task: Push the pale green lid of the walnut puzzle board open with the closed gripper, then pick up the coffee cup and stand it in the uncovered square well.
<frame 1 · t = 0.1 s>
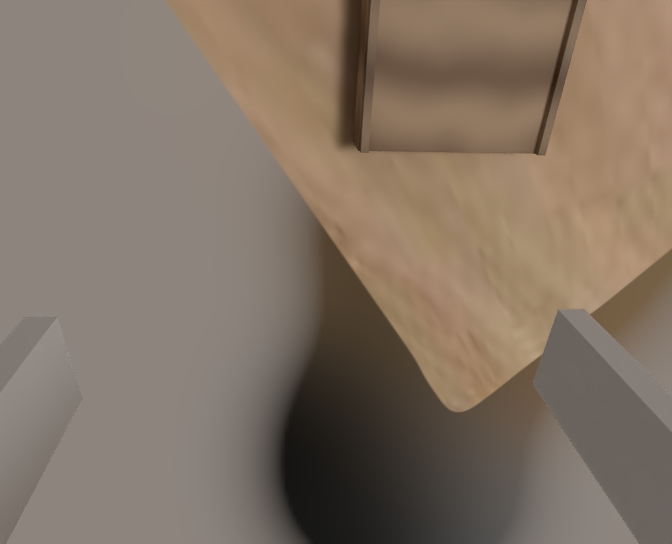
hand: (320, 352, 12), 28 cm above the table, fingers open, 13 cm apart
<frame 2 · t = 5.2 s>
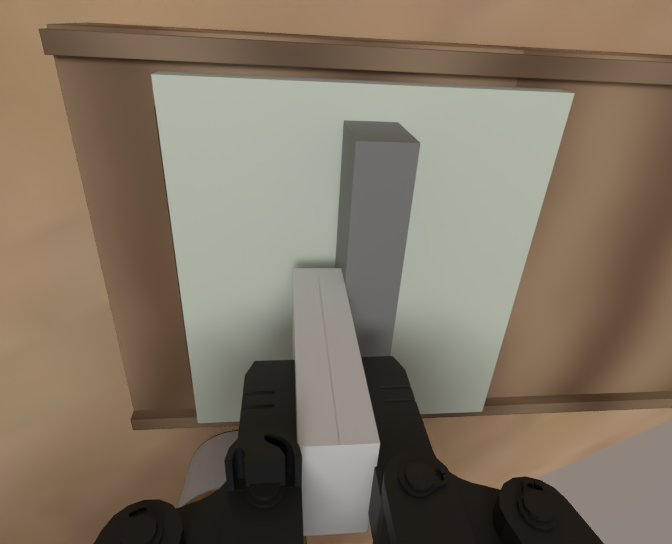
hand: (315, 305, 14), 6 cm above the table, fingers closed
coffee cup: (244, 462, 26), on the table
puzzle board: (438, 235, 20), on the table
lid: (360, 297, 15), point 5 cm above the table, slide at 0.8 cm, touching gripper
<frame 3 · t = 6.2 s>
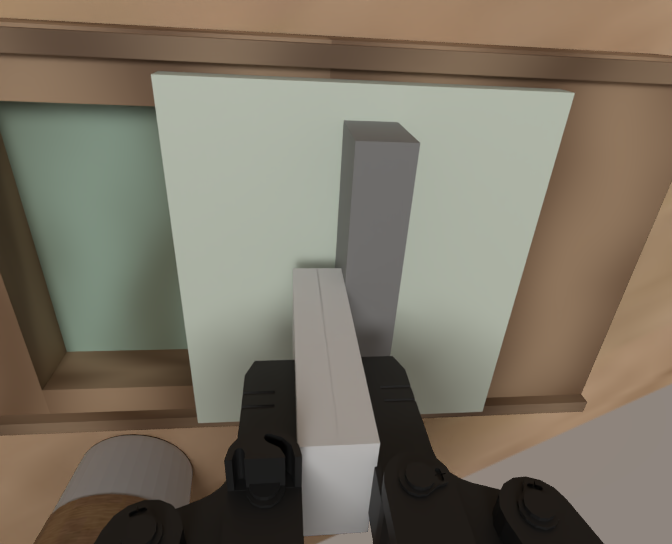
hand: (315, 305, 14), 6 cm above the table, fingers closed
coffee cup: (139, 467, 25), on the table
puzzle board: (304, 234, 19), on the table
lid: (360, 297, 15), point 5 cm above the table, slide at 6.7 cm, touching gripper
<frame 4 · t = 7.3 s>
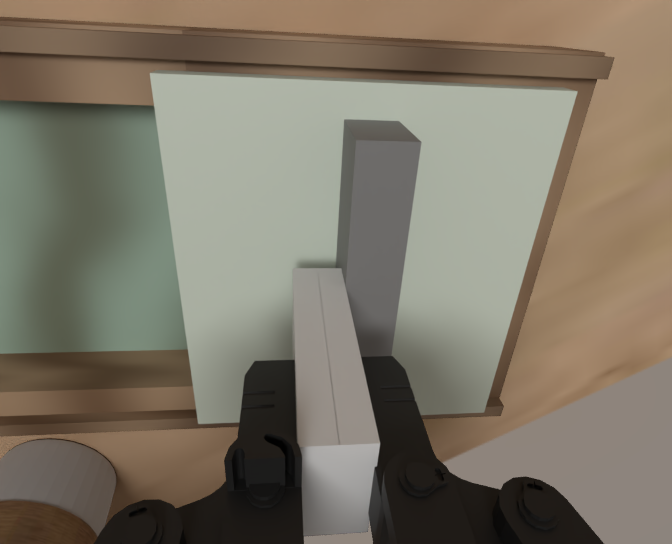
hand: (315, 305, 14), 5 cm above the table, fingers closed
coffee cup: (61, 472, 25), on the table
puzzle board: (204, 233, 19), on the table
lid: (361, 297, 15), point 5 cm above the table, slide at 10.8 cm, touching gripper
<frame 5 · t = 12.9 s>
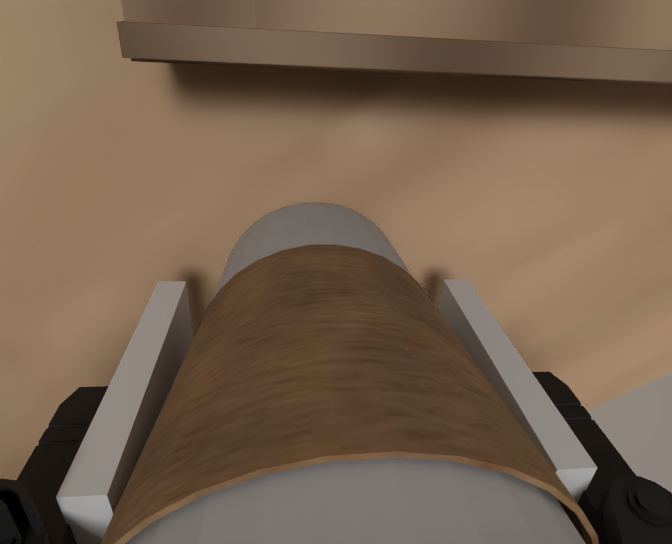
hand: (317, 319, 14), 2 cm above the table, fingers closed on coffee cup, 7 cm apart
coffee cup: (313, 279, 16), on the table, touching gripper
when the fingers open (4 cm above the table, at t = 19.3 s): coffee cup drops 1 cm, resting on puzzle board.
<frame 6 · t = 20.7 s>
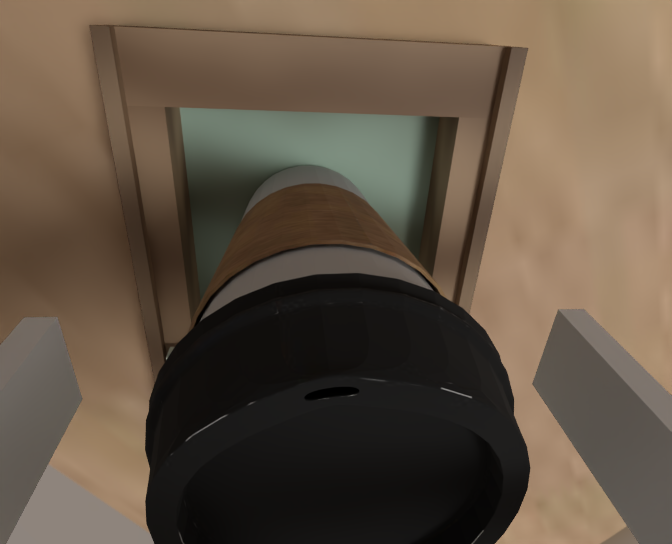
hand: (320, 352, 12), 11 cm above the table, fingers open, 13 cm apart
coffee cup: (307, 224, 22), resting on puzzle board
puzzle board: (308, 306, 24), on the table
lid: (309, 459, 23), point 5 cm above the table, slide at 11.0 cm
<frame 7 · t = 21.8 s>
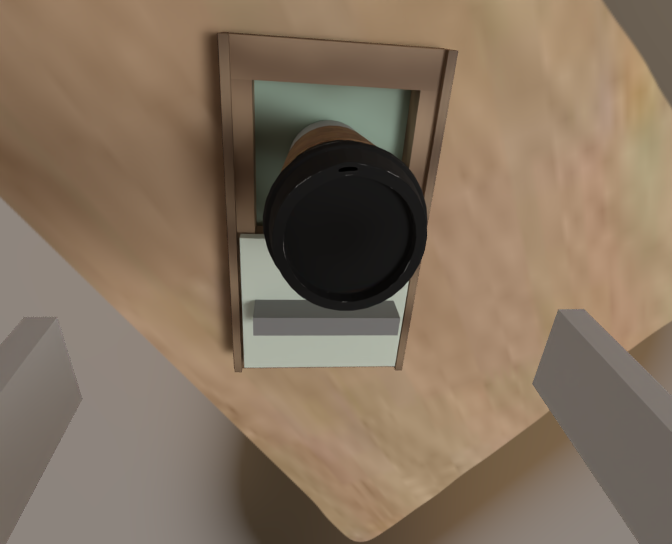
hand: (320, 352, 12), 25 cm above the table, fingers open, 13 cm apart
coffee cup: (327, 159, 34), resting on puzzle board
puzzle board: (325, 219, 37), on the table
lid: (325, 314, 36), point 5 cm above the table, slide at 11.0 cm
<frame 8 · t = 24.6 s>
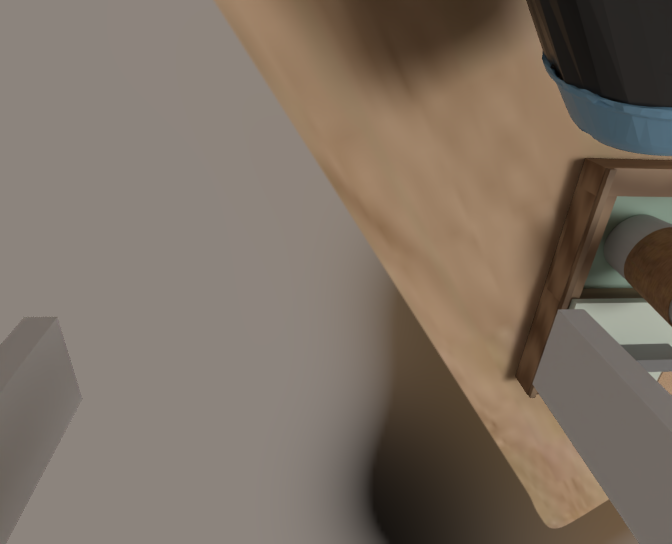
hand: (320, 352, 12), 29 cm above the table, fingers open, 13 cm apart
coffee cup: (630, 240, 45), resting on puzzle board
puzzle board: (612, 281, 48), on the table
lid: (622, 355, 47), point 5 cm above the table, slide at 11.0 cm
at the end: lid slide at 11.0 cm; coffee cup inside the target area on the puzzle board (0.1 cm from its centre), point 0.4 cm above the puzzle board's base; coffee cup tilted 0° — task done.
